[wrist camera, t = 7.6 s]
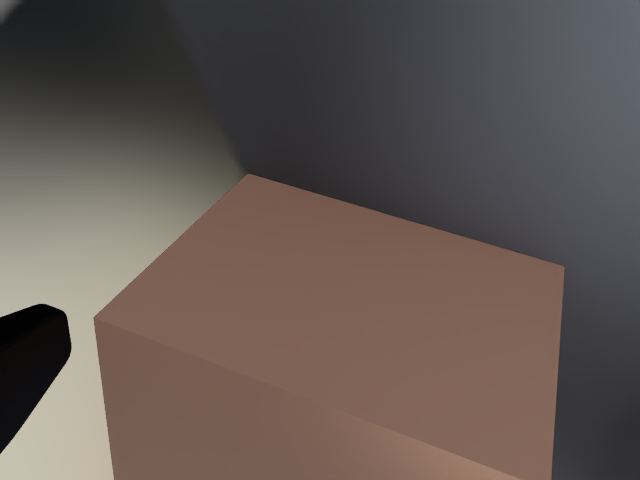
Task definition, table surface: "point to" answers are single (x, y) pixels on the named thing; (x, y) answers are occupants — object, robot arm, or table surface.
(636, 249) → the table surface
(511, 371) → the terracotta block
